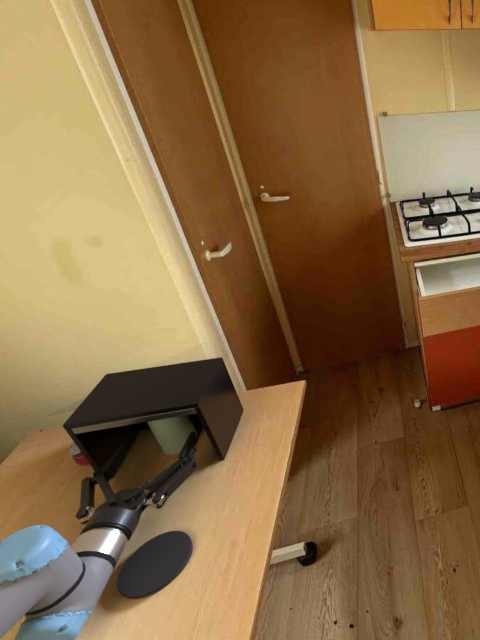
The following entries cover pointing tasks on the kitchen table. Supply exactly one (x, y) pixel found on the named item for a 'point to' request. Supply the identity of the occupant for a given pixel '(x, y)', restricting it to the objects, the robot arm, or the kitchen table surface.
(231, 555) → the kitchen table surface
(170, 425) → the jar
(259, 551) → the kitchen table surface
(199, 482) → the kitchen table surface
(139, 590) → the trivet
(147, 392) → the dark wooden monitor stand
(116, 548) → the robot arm
